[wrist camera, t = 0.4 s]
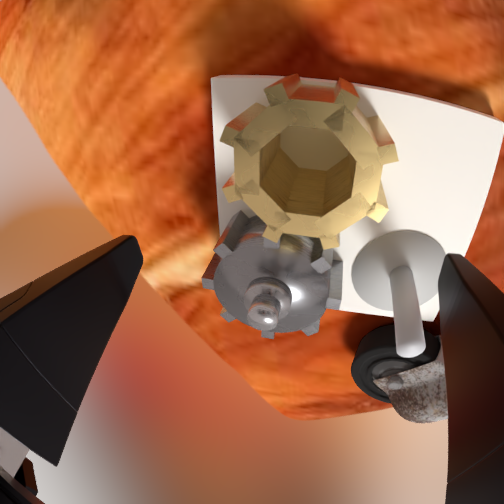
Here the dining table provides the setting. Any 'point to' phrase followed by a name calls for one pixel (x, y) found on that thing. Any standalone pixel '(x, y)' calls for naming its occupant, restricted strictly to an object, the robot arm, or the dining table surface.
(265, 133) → the brass gear
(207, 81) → the dining table surface
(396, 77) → the dining table surface
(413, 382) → the caster wheel
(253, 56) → the dining table surface
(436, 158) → the gear board
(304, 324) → the gear
